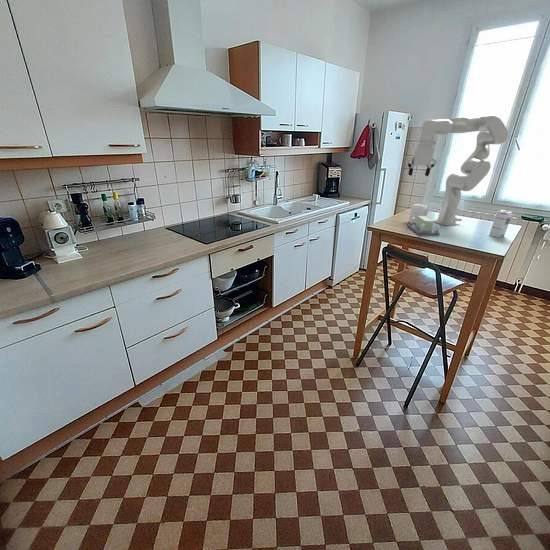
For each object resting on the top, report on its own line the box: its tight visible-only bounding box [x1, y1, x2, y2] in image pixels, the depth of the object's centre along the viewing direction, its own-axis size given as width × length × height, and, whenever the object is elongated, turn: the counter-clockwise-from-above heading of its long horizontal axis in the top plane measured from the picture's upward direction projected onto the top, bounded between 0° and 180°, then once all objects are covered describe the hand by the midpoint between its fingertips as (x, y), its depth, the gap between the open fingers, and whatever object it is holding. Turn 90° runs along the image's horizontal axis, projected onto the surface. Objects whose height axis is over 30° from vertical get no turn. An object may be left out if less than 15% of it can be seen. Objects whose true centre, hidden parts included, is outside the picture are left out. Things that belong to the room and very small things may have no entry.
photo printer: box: [408, 203, 429, 224], centre depth 190 cm, size 10×4×12 cm, turn 39°
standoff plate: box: [407, 217, 441, 236], centre depth 176 cm, size 12×17×6 cm
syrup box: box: [489, 209, 513, 238], centre depth 169 cm, size 6×6×14 cm
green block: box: [415, 216, 435, 231], centre depth 175 cm, size 5×11×6 cm, turn 178°
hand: (418, 175), depth 175 cm, fingers open, 9 cm apart
